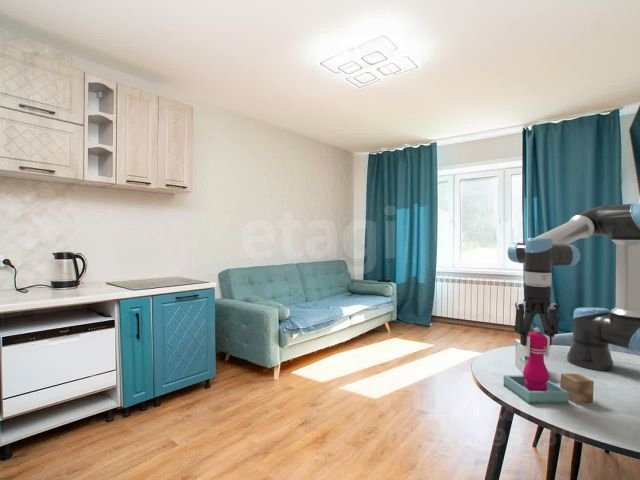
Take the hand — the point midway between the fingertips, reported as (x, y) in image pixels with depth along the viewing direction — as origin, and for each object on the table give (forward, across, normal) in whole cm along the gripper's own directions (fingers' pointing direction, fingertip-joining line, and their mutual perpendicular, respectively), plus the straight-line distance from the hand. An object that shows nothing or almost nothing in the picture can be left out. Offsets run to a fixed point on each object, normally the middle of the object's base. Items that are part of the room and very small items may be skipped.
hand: (535, 355), depth 113 cm
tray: (+13, 0, 0) cm, 13 cm away
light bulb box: (+13, +11, +20) cm, 26 cm away
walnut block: (+13, +11, -4) cm, 18 cm away
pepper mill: (+11, 0, 0) cm, 11 cm away
